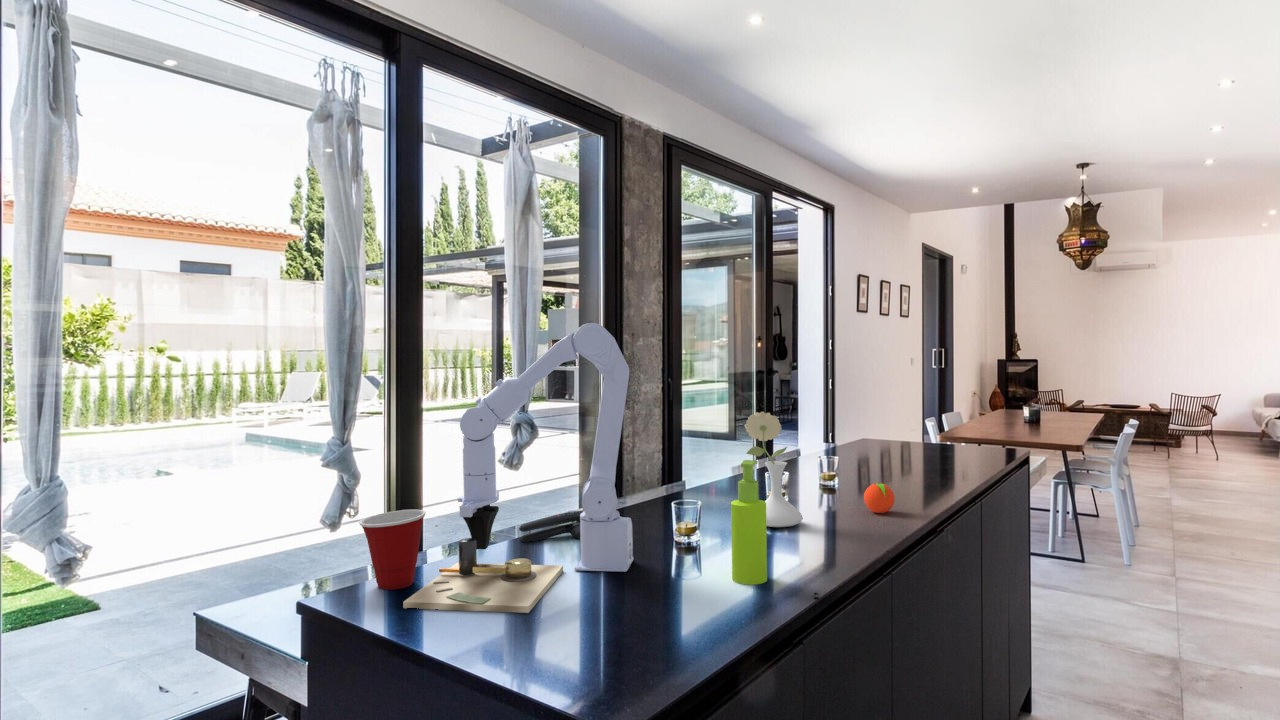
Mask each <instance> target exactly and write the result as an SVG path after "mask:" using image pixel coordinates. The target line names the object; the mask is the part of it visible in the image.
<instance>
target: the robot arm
mask: <svg viewBox="0 0 1280 720" xmlns="http://www.w3.org/2000/svg"><path fill="white" fill-rule="evenodd" d="M578 354H579V355H580V356H581V357H583V358H585V359H586V360H588V361H589V362H591V363H592V364H593V365H594V367H595V368H596V369H597V370H598V372H599V374H600V375H602V377H603V383H602V389H601V390H602V391H601V395H600V396H601V397H600V402H599V403H600V404H599V410H598V411H599V412H598V418H597V424H596V433H595V438H594V446H593V451H592V452H593V454H592V460H591V466H590V472H589V477H588V478H587V481H586V482H585V483H584V485H583V487H582V491H581V492H582V493H581V494H582V498H581V507H582V510H584V511H583V512H582V513H581V514H580V539H579V540H580V541H579V542H580V560H579V562H578V563H577V564H576V566H575V567H574V570H575V571H580V572H581V571H582V572H583V571H585V572H586V571H589V572H621V573H623V572H625V573H626V572H627V571H628V570H629V569H630V567H631V564H632V563H633V561H634V551H633V549H634V546H633V545H634V544H633V541H634V540H633V522H632V518H631V517H624V516H620V512H619V510H617V506H618V496H617V490H616V487H615V484H616V474H617V463H618V457H619V456H618V455H619V451H620V450H619V449H620V444H621V443H620V442H621V437H622V436H621V435H622V429H623V421H624V415H625V414H624V413H625V407H626V400H627V393H628V385H629V378H630V366H629V365H628V363H627V361H626V360H625V357H624V355H623V353H622V351H621V349H620V347H619V345H618V343H617V341H616V339H615V337H614V336H613V335H612V334H611V333H610V332H609V331H608V330H607V328H605V327H604V326H603V325H601V324H599V323H596V322H587V323H584V324H582V325H581V326H580V327H578V329H577V330H576V331H575V332H572V333H569V334H568V335H566V336H564V337H562V339H560V340H558V341H557V342H555V343H554V344H553V346H551V347H550V348H549V349H548V350H547V351H546V352H544V353H543V354H542V355H541V356H540V357H539V358H537V360H536V361H535V362H534V363H532V364H531V365H530V366H529V367H528V368H527V369H526V370H524V372H522V374H520V375H519V376H518V377H514V376H506V377H505V378H504V379H502V378H500V379H498V380H497V381H496V382H495V387H494V388H493V389H491V390H490V391H489V392H488V393H487V394H486V395H485V396H483V397H482V398H481V397H478V398H477V399H476V400H475V403H476V405H477V406H475V407H473V406H472V407H470V408H468V409H466V411H465V412H464V414H462V416H461V418H460V421H459V428H460V431H461V433H462V434H463V436H462V437H463V438H462V443H463V448H462V469H463V470H462V474H463V495H461V496H459V497H457V502H459V503H461V504H460V505H459V518H462V519H463V520H464V521H465V524H466V526H467V528H468V531H469V534H470V538H473V539H476V550H486V549H488V548H489V544H490V539H491V535H492V529H493V525H494V522H495V519H496V517H497V515H498V513H499V511H500V510H499V509H500V507H499V506H496V505H492V504H495V503H498V501H499V499H500V495H499V494H500V491H499V489H497V475H496V474H497V472H496V470H497V469H496V466H497V465H496V446H495V433H494V432H495V430H496V428H497V427H498V424H503V423H505V422H506V421H507V420H508V419H509V418H510V417H511V416H513V414H515V413H516V412H517V411H519V409H520V408H521V407H523V406H524V405H525V404H527V402H529V398H530V390H531V389H532V388H534V387H535V386H536V385H537V384H538V383H540V382H541V381H543V379H545V378H546V377H547V376H548V375H549V374H551V373H552V372H553V371H554V370H556V369H557V368H558V367H559V366H561V364H564V363H567V362H572V361H574V360H578V359H579V357H578Z"/></svg>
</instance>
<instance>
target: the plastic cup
mask: <svg viewBox="0 0 1280 720" xmlns="http://www.w3.org/2000/svg"><path fill="white" fill-rule="evenodd" d="M425 515H426V511H425V510H423V509H401V510H395V511H387V512H384V513H378V514H374V515H371V516H367V517H365V518H362V519H361V520H359V522H358V524H359V525H360V526H361V527H362V529H363V532H364V534H365V538H366V540H367V544H368V545H367V546H368V549H369V554H370V558H371V559H370V560H371V562H372V568H373V569H374V576H375V580H376V583H377V588H379V589H381V590H386V589H387V590H388V591H389V590H390V591H391V590H399V589H404V588H408V587H411V586H412V585H413V583H414V580H415V575H416V566H417V563H418V558H419V557H418V556H419V548H420V540H421V534H422V528H423V521H424V518H425Z"/></svg>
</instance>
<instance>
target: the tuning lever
mask: <svg viewBox="0 0 1280 720" xmlns="http://www.w3.org/2000/svg"><path fill="white" fill-rule="evenodd" d="M457 542H458V543H457V545H458V563H459V569H452V568H450V567H448V568H446V567H445V568H444V567H441V568H438V572H439V573H443V572H454V573H459V574H461V575H471V574H475V573H492V574H505V575H506V576H507V577H511V578H521V577H526V576H529V575H531V573H532V569H531V565H532V560H531V559H528V558H523V557H522V558H520V557H519V558H511V559H509V560H506V561H505V563H504V564H505V565H492V564H493V563H482V564H477V561H478V559H477V557H478V556H477V551H478V549H476V539H473V538H471V537H469V538H468V537H467V538H462V539H459V540H458V541H457Z"/></svg>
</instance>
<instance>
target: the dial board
mask: <svg viewBox="0 0 1280 720" xmlns="http://www.w3.org/2000/svg"><path fill="white" fill-rule="evenodd" d="M477 564H483V563H477ZM491 564H492V565H505V563H491ZM449 568H452V569H459V562H455V563H454V564H452V565H451V566H450V567H449ZM531 569H532V573H531V575H529V576H526V577H521V578H511V577H507V576H506V575H505V574H492V573H475V574H471V575H461V574H459V573H454V572H441V574H439V575H438V576H436V577H435V578H433V579H432V580H431V581H430V582H428V583H427V584H426V585H424V586H422V587H421V588H420V589H419V590H417V591H416V592H415V593H413V594H412V595H410V596H409V597H407V598H406V599H405V600H404V601H403V603H402V604H403V605H402V607H403V608H402V609H407V608H417V609H416V610H435V609H438V611H442V610H443V611H464V612H465V611H466V612H467V611H468V612H490V613H491V612H494V613H495V612H496V613H519V614H520V613H522V614H523V613H525V614H529V613H530V612H531V610H533V608H534V607H535V606H536V605H537V604H538V602H539V601H540V600H541V599H542V598H543V596H544V595H545V594H546V593H547V591H549V589H550V588H551V587H552V585H553V584H554V583H555V582H556V580H557V579H558V578H559V577H560V576H561V575H562V574H563V572H564V565H557V564H556V565H553V564H552V565H551V564H550V565H549V564H531ZM418 608H419V609H418Z"/></svg>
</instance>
